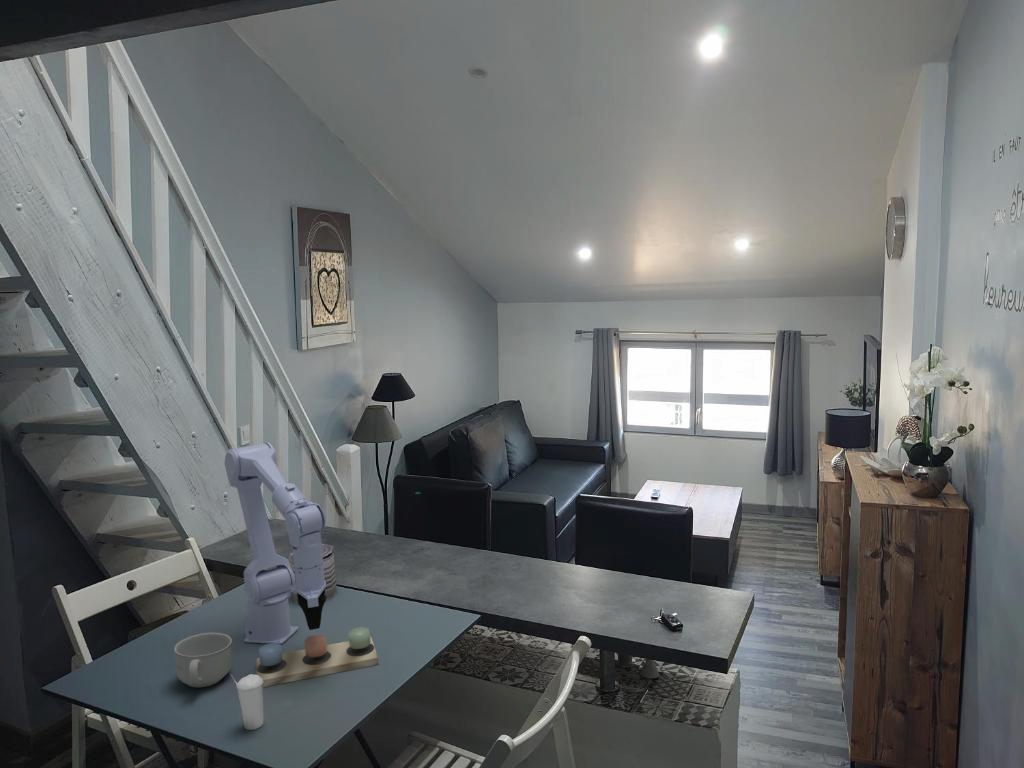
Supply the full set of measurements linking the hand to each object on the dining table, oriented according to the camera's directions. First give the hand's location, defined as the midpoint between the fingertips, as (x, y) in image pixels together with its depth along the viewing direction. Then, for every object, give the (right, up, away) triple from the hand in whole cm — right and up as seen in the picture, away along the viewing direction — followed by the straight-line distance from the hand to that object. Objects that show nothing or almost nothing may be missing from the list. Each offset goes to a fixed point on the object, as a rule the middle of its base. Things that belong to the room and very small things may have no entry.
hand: (314, 626), depth 155 cm
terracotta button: (0, -6, +1) cm, 6 cm away
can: (-10, -4, +37) cm, 38 cm away
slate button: (-8, -6, -2) cm, 11 cm away
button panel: (0, -8, +1) cm, 8 cm away
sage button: (+9, -5, +4) cm, 11 cm away
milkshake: (-6, -12, -20) cm, 24 cm away
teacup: (-21, -10, -4) cm, 24 cm away
